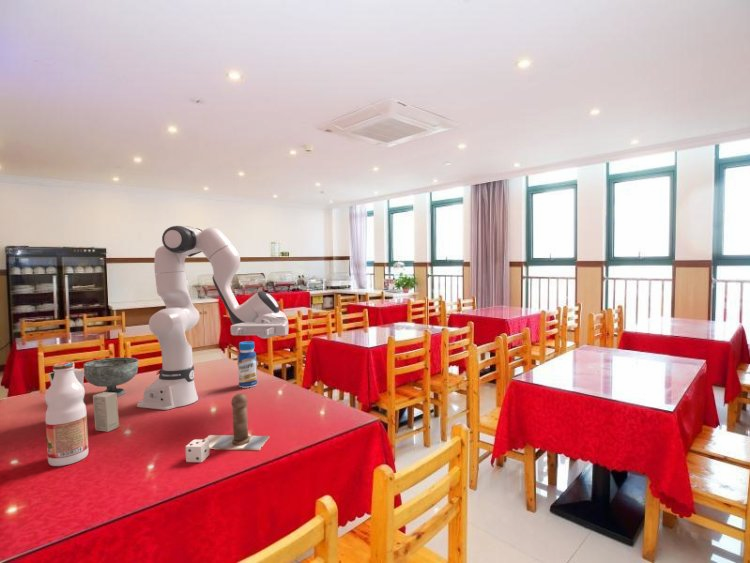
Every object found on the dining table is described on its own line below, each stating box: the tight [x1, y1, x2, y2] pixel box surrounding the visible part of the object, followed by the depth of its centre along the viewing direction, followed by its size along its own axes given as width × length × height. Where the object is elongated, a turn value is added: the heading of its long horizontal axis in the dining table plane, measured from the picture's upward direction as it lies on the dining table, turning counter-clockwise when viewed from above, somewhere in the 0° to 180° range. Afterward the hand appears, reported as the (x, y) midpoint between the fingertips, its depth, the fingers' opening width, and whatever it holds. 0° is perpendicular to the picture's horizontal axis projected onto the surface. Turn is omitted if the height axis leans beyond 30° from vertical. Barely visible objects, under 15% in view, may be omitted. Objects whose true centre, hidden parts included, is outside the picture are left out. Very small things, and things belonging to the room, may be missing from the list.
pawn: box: [230, 393, 250, 445], centre depth 124 cm, size 5×5×15 cm
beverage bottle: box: [237, 340, 258, 389], centre depth 183 cm, size 8×8×20 cm
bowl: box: [83, 356, 140, 397], centre depth 174 cm, size 20×19×15 cm
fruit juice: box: [44, 361, 90, 467], centre depth 116 cm, size 9×9×28 cm
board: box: [203, 434, 270, 451], centre depth 124 cm, size 20×9×1 cm, turn 85°
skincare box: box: [92, 391, 120, 432], centre depth 137 cm, size 6×4×12 cm
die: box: [185, 438, 210, 463], centre depth 115 cm, size 5×5×5 cm
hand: (251, 332), depth 138 cm, fingers open, 8 cm apart
